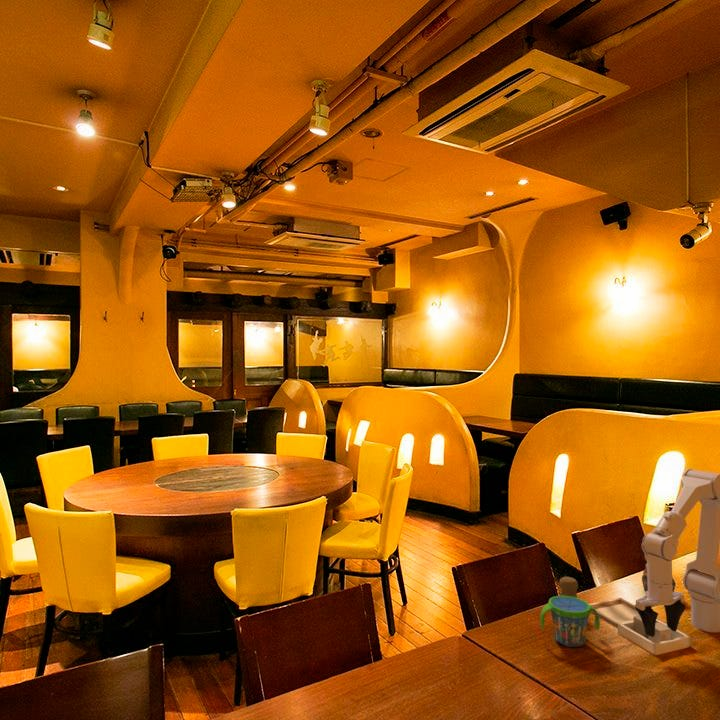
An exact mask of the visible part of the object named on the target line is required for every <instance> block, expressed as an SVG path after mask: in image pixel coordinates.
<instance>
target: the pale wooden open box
mask: <svg viewBox="0 0 720 720" xmlns="http://www.w3.org/2000/svg"><path fill="white" fill-rule="evenodd" d="M658 622H659V623H661V624H663V625H665V626H666V627H667V623H665V622H664V621H661V620H659V619H656V623H658ZM617 634H619V635H621V636H622V637H624V638H626V639H627V640H629V641H631V642H632V643H634V644H635V645H637V646H639V647H640V648H642V649H644V650H645V651H647V652H649V653H650V654H652V655H653V656H659V655H663V654H666V653H670V652H675V651H679V650H683V649H686V648H687V649H688V648H690V647H692V646H691V645H692V642H691V636H690V635H688V634H686V633H684V632H682V631H680V630H679V629H677V630H676V631H675V632H674V631H672V630H671V639H670V640H666V641H662V642H657V643H654V642H652V641H650V640H649V638H645V637H643V636H642V635H640V634H638V633H636V632H635V631H634V621H633V620H632V621H628V622H623V623H618V628H617Z"/></svg>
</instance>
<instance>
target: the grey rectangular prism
mask: <svg viewBox="0 0 720 720" xmlns="http://www.w3.org/2000/svg"><path fill="white" fill-rule="evenodd" d="M633 621H634V631H635V632H636V633H638V634H640V635H642V636H643V637H645V638H647V639H649V635H648V634H646V632H645V628H644V625H643V622H642V619H641V617H640V615H638V616H634V617H633Z"/></svg>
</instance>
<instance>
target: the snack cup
mask: <svg viewBox="0 0 720 720" xmlns="http://www.w3.org/2000/svg"><path fill="white" fill-rule="evenodd" d="M589 604H590V603H588V602H587V601H586V600H584V599H581V598H578V597H577V598H576V597H571V596H561V595H556V596H552V597H550V598H549V600H548V603H546V604H545V605H544V606H543V607H542V608H541V611H540V613H539V614H540V615H539V624H540V626H541V629H542V630H543V631H545V630H546V629H545V614H546V613H547V612H548V611H550V613H551V622H552V627H553V634H554V639H555V641H556V642H558V643H559V644H561V645H563V646H566V647H570V648H577V647H583V645H584V644H585V642H586V637H587V636H586V635H587V630H588V624H589V621H588V620H589V617H590V614H591V612H590V611H591V610H593V611H594V612H595V614H594V616H595V617H594V622H593V626H594V629H596V630H599V629H600V626H601V622H600V617H599V615H598V613H597V611H596V610H595V609H594V608H593V607H592V606H591V605H589Z"/></svg>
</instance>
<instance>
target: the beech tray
mask: <svg viewBox="0 0 720 720" xmlns="http://www.w3.org/2000/svg"><path fill="white" fill-rule="evenodd" d="M588 604H589V605H591V606H592V607H593V608H594V609H595V610H596V611H597V613H598V615H599V619H601V620H602V621H603V620H604V622H606V623H609V624H610V625H611V626H613V627H615V628H616V629H618V623H623V622H628V621H632V620H633V617H634V616H638V615H639V613H638V611H637V610H636V608H635V604H634V603H632V602H630V601H627V600H626V599H624V598H622V597H618V598H613V599H607V600H603V601H597V602H592V603H588ZM590 614H593V615H595V612H594V611H593V610H591V611H590Z"/></svg>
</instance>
